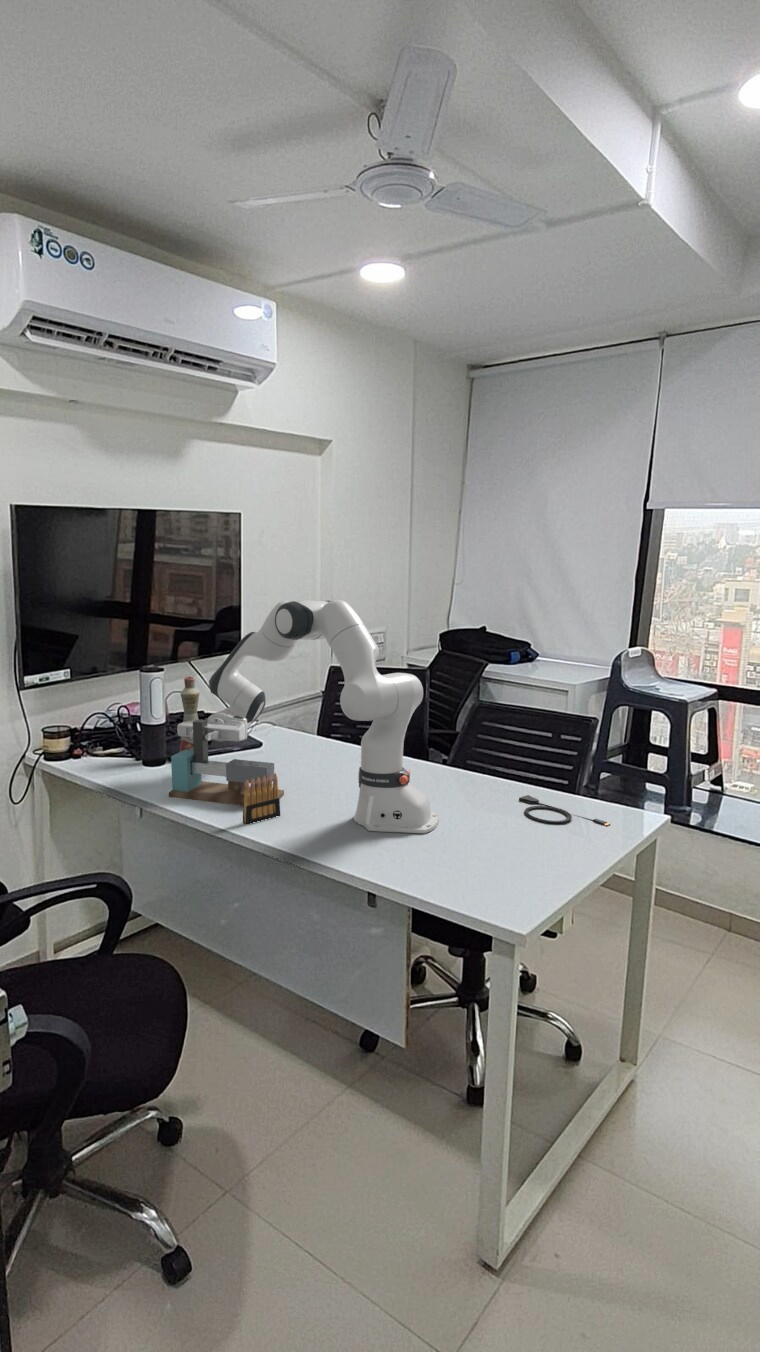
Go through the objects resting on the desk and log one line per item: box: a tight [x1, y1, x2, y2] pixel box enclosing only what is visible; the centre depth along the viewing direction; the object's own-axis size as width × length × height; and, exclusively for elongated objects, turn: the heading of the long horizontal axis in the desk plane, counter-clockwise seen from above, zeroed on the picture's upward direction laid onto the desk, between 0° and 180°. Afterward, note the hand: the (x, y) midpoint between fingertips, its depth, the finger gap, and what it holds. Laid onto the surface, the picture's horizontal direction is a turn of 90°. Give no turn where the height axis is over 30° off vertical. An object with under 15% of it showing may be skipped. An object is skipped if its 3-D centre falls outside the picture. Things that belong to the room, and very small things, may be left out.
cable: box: [518, 794, 611, 827], centre depth 212 cm, size 14×28×2 cm, turn 41°
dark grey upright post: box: [190, 719, 228, 778], centre depth 223 cm, size 19×3×15 cm, turn 74°
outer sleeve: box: [225, 758, 275, 785], centre depth 220 cm, size 12×5×5 cm, turn 74°
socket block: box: [170, 749, 202, 792], centre depth 226 cm, size 5×8×10 cm, turn 164°
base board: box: [168, 780, 285, 807], centre depth 223 cm, size 30×12×6 cm, turn 74°
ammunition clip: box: [242, 772, 281, 825], centre depth 205 cm, size 11×2×12 cm, turn 132°
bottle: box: [179, 675, 200, 752], centre depth 259 cm, size 9×9×28 cm
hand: (198, 737), depth 222 cm, fingers closed on dark grey upright post, 3 cm apart
